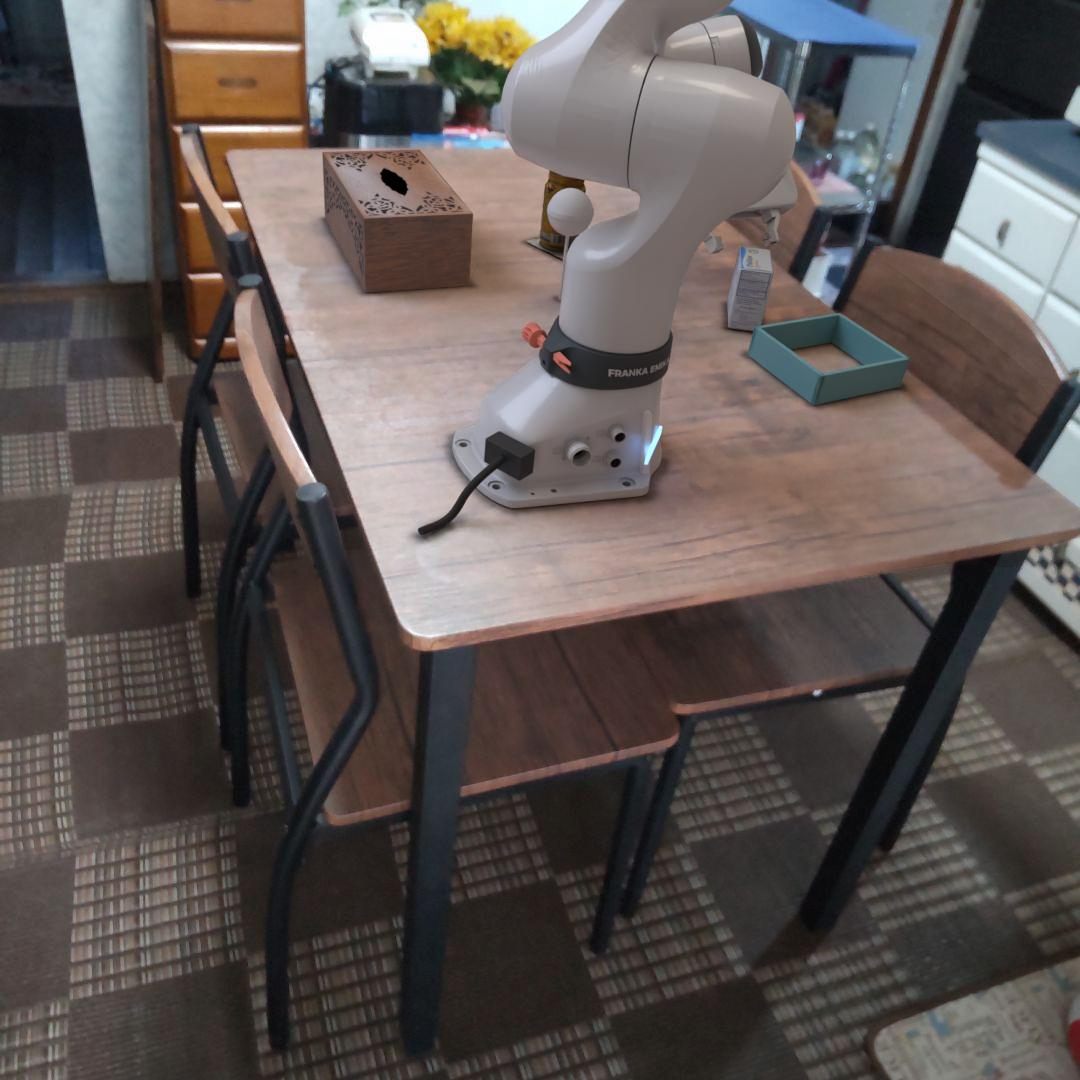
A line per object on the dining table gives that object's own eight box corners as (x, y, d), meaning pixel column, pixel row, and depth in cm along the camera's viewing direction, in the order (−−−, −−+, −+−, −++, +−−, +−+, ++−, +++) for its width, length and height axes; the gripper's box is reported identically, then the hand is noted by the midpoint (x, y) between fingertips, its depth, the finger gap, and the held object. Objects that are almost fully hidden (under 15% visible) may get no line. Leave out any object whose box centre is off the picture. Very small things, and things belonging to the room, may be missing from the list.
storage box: (813, 405, 119) (822, 376, 116) (747, 355, 128) (754, 326, 125) (900, 387, 125) (910, 358, 122) (831, 339, 134) (839, 312, 131)
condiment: (560, 233, 154) (568, 154, 147) (599, 252, 150) (610, 171, 142) (525, 242, 150) (532, 161, 143) (564, 262, 146) (574, 180, 138)
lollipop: (560, 286, 139) (573, 178, 130) (591, 302, 136) (606, 192, 127) (528, 296, 135) (539, 186, 126) (559, 313, 132) (572, 201, 123)
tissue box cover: (325, 219, 150) (322, 151, 144) (418, 215, 155) (419, 149, 148) (365, 292, 131) (364, 218, 125) (469, 285, 136) (473, 213, 130)
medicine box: (759, 333, 133) (775, 272, 128) (726, 328, 133) (740, 267, 128) (757, 308, 139) (772, 249, 134) (725, 304, 139) (739, 244, 134)
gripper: (665, 143, 128) (693, 246, 127) (789, 135, 136) (816, 231, 136) (641, 167, 134) (668, 265, 133) (762, 158, 142) (788, 250, 142)
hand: (744, 248), depth 135 cm, fingers open, 8 cm apart
